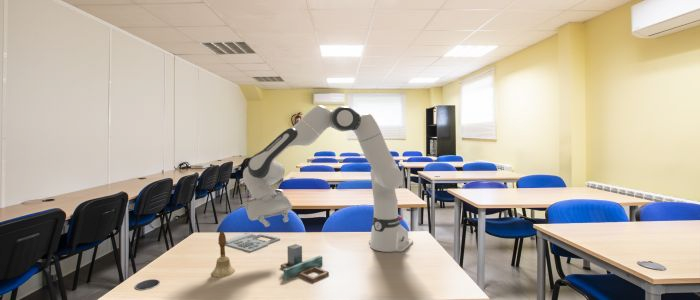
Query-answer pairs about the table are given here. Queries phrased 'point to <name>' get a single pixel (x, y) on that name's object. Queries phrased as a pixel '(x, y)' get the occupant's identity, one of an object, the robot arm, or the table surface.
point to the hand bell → (222, 260)
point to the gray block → (294, 255)
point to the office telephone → (249, 241)
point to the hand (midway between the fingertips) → (277, 223)
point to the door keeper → (305, 269)
